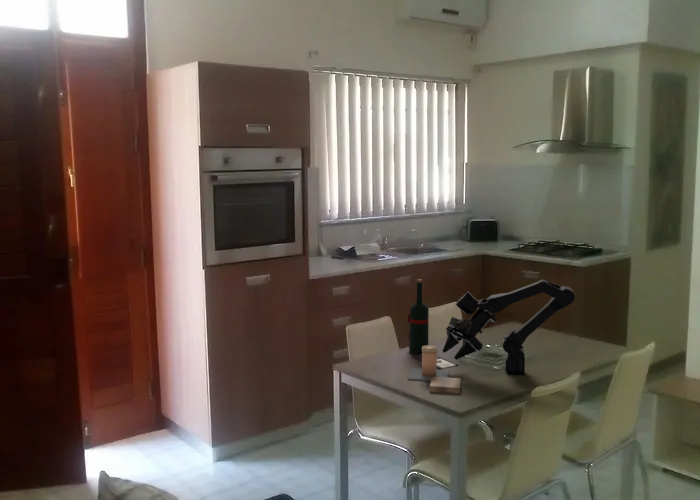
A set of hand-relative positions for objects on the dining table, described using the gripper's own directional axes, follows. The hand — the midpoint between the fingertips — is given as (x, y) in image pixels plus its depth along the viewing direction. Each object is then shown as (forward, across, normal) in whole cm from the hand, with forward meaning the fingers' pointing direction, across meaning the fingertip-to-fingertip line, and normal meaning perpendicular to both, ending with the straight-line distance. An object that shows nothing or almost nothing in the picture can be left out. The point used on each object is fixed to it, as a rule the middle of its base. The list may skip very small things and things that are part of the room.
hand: (449, 355), depth 245 cm
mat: (+10, 0, -1) cm, 11 cm away
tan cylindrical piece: (+10, 0, -1) cm, 10 cm away
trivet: (+11, +14, -1) cm, 17 cm away
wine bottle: (+4, -30, +6) cm, 30 cm away
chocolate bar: (+4, -15, +6) cm, 17 cm away
